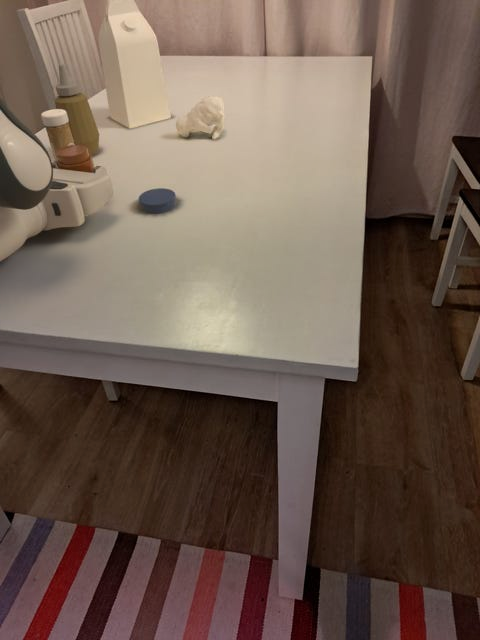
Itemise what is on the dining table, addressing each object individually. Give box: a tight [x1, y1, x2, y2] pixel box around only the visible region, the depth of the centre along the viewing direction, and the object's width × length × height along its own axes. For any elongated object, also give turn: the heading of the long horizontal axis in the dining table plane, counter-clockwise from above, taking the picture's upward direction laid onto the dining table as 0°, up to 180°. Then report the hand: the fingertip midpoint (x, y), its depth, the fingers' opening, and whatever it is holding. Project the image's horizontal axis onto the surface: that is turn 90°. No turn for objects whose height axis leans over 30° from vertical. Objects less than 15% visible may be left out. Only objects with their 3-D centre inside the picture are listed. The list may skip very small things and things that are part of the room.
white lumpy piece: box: [175, 95, 226, 140], centre depth 108 cm, size 6×8×12 cm
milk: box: [97, 0, 172, 129], centre depth 114 cm, size 12×12×26 cm
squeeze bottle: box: [54, 64, 100, 157], centre depth 99 cm, size 8×8×18 cm
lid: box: [138, 187, 178, 215], centre depth 84 cm, size 7×6×2 cm
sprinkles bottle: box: [40, 108, 75, 161], centre depth 90 cm, size 5×5×13 cm
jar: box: [57, 145, 95, 173], centre depth 84 cm, size 6×6×10 cm
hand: (80, 167), depth 84 cm, fingers open, 8 cm apart
